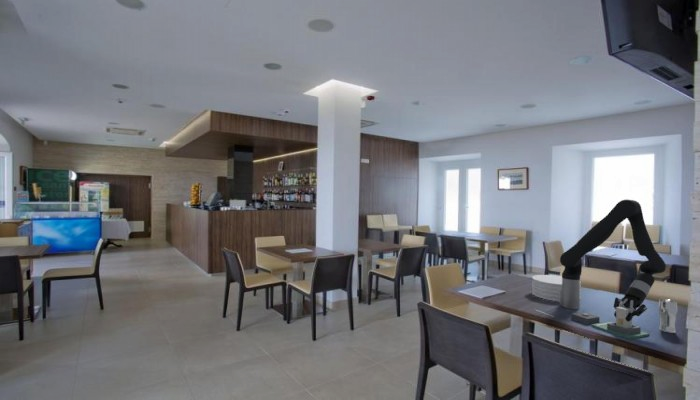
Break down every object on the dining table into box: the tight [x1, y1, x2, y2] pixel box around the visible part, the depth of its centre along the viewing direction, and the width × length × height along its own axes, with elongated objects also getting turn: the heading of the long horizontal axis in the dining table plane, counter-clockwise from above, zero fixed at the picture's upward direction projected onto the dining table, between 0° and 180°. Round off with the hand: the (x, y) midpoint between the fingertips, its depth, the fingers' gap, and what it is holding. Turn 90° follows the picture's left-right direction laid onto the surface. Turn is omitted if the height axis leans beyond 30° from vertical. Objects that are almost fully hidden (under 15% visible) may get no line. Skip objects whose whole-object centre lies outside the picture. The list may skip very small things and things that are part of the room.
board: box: [590, 321, 650, 340], centre depth 177 cm, size 18×14×4 cm
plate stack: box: [531, 274, 582, 302], centre depth 239 cm, size 28×28×12 cm
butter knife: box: [535, 309, 555, 318], centre depth 197 cm, size 1×27×3 cm
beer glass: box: [658, 298, 678, 334], centre depth 178 cm, size 7×7×15 cm
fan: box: [570, 311, 600, 326], centre depth 191 cm, size 9×9×4 cm
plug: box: [615, 307, 633, 329], centre depth 175 cm, size 4×5×9 cm
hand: (621, 318), depth 175 cm, fingers closed on plug, 4 cm apart
